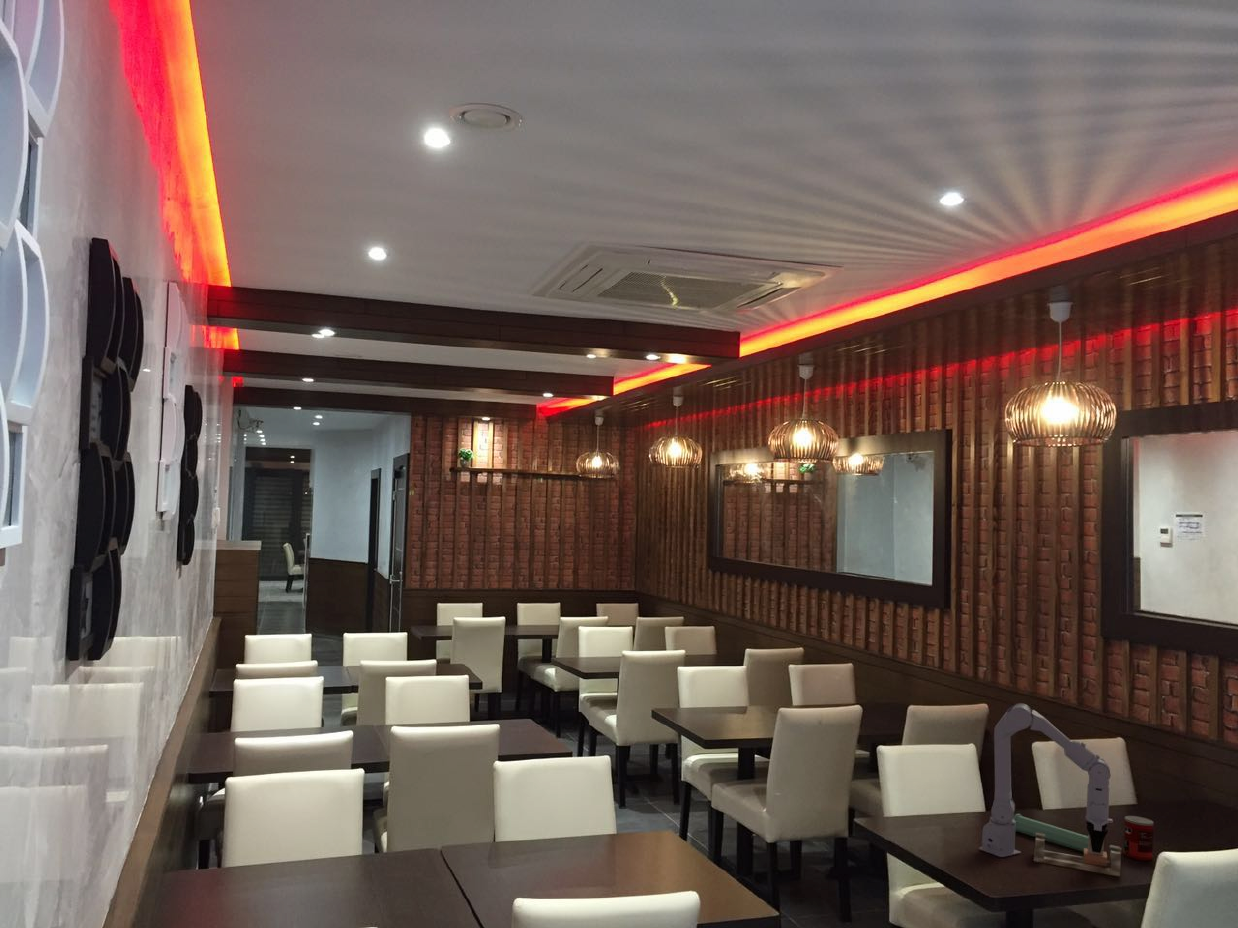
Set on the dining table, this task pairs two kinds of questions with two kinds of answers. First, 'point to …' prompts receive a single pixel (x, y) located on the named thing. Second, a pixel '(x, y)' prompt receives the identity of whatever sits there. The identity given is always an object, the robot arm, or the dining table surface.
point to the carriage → (1095, 855)
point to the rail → (1076, 858)
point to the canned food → (1138, 837)
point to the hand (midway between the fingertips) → (1096, 849)
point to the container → (1051, 833)
